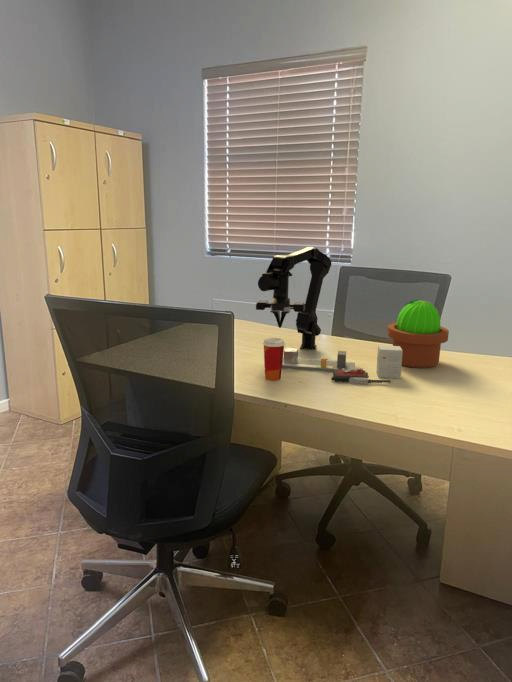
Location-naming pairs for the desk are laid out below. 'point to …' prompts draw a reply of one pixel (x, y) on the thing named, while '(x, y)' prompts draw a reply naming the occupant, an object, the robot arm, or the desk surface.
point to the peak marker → (323, 361)
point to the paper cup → (273, 358)
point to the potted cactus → (418, 334)
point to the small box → (389, 361)
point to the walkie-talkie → (354, 376)
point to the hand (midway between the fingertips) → (280, 327)
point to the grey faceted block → (290, 355)
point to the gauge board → (316, 364)
